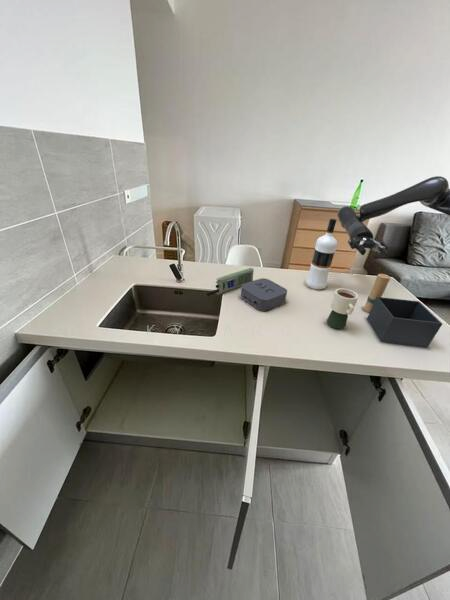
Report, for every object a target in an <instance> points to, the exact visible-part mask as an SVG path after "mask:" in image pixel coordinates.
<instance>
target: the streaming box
mask: <svg viewBox="0 0 450 600" xmlns="http://www.w3.org/2000/svg"><path fill="white" fill-rule="evenodd" d="M240 289H241V290H240V298H241V300H243V301H244V302H246V303H248V304H249V305H251V306H252V307H254V308H255V309H256V310H258V311H262V312H266V311H267V312H268V311H269V310H272V309H274V308H276V307H278V306H281V305H283V304H285V303H286V300H287V294H288V289H287V288H286V287H284V286H281V285H279V284H278V283H276V282H275V281H273V280H271V279H269V278H257V279H253V281H251V282H248V283H245V284H243V285H242V286H241V288H240Z"/></svg>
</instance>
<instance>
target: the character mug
mask: <svg viewBox="0 0 450 600" xmlns="http://www.w3.org/2000/svg"><path fill="white" fill-rule="evenodd" d="M358 299H359V294H358V293H357V292H356V291H354V290H351V289H349V288H343V287H341V288H336V289H335V291H334V294H333V298H332V300H331V303H330V309H331V311H330V313H329V315H328V316H327V319H326V323H327V325H328V326H330V327H332V328H335V329H339V330H340V329H341V330H344V329H345V328H346V326H347V324H348V323H347V322H348V318H349V316H350V315H352V314H353V312H354V310H355V309H354V308H355V307H356V304H357V303H358V302H357V301H358Z"/></svg>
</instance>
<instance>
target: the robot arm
mask: <svg viewBox="0 0 450 600" xmlns="http://www.w3.org/2000/svg"><path fill="white" fill-rule="evenodd" d="M418 202H419V203H420V204H421V205H422V206H424V207H425V208H428V209H432V210H435V211H437V212H439V213H442V214H444V215H446V216H448V217H450V185H449V180H448V179H447V178H445V177H443V176H439V175H435V176H432V177H429V178H427V179H424V180H422V181H420V182H418V183H415V184H414V185H411V186H409V187H407V188H404V189H402V190H400V191H397V192H395V193H393V194H390V195H388V196H385V197H382V198H379V199H376V200H373V201H370V202H367V203H364V204H362V205H360V206H359V214H357V213H356V211H355V210H354V208H353V207H352V206H350V205H344V206H343V207H341V208H339V209H338V211H337V214H336V217H337V220H338V221H339V224H340V226H341V228H343V229H344V230H345V232H346V233H347V235H348V241H347V243H348V245H349V247H350V249H352V250H354V249H355V251H358V252H359V254H360V255H361V256H365V254H366V253H367V249H369V250H371V251H372V252H377V253H379V254H380V256H381V258H383V259H386V258H387V257H388V255H389V252H388V250H389V249H390V246H388V244H387V243H385V241H383V239H379V241H377V240H375V238H374V233H373V232H372V231H371V229H370V228H368V226H367V225H366V224H365V223H364V222H365V221H367V220H371V219H375V218H379V217H381V216H384V215H387V214H389V213H390V212H392V211H395V210H396V209H398V208H400V207H403V206H406V205H408V204H412V203H418Z"/></svg>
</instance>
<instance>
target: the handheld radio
mask: <svg viewBox="0 0 450 600" xmlns="http://www.w3.org/2000/svg"><path fill="white" fill-rule="evenodd" d="M215 280H216V281H215V284H216V285H215V288H216V289H214V290H211V291H208V292H206V296H207V297H209V296H213V295H214V294H216V295H221V294H224V293H226V292H229V291H231V290H234V289H237V288H240V287H242V285H243V284H245V283H248V282H251V281H254V268H252V267H249V268H245V269H242V270H238V271H236V272H233V273H229V274H225V275H222V276H220V277H217V278H215Z"/></svg>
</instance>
